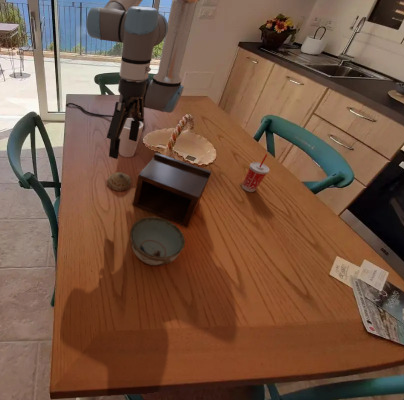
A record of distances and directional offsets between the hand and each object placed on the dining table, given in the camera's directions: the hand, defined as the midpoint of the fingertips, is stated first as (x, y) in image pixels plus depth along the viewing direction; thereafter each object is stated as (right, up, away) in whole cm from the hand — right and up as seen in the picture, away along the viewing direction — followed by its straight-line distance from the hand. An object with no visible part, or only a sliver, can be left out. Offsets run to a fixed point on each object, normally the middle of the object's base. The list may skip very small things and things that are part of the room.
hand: (123, 148), depth 85 cm
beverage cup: (+46, -12, +12) cm, 49 cm away
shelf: (+14, -18, +2) cm, 23 cm away
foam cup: (+4, +3, +25) cm, 26 cm away
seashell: (-1, -11, +10) cm, 15 cm away
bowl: (+6, -32, -13) cm, 35 cm away
